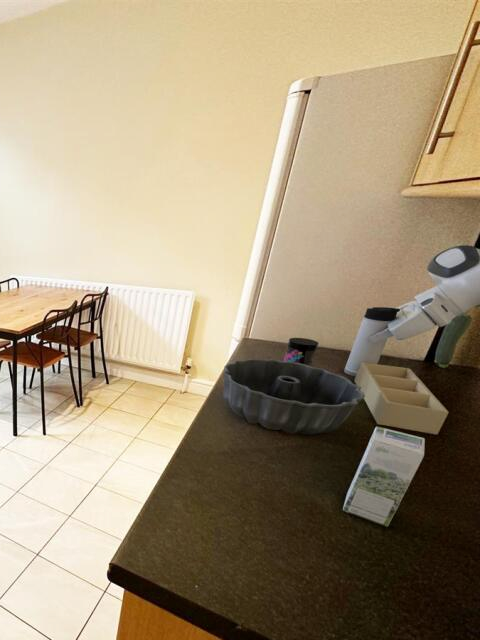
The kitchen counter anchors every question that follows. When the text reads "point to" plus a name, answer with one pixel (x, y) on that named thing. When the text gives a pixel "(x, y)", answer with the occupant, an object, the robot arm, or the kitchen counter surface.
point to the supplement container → (300, 351)
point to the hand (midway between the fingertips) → (369, 336)
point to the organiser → (400, 398)
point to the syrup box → (384, 475)
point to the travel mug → (363, 346)
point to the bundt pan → (289, 395)
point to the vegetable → (451, 338)
